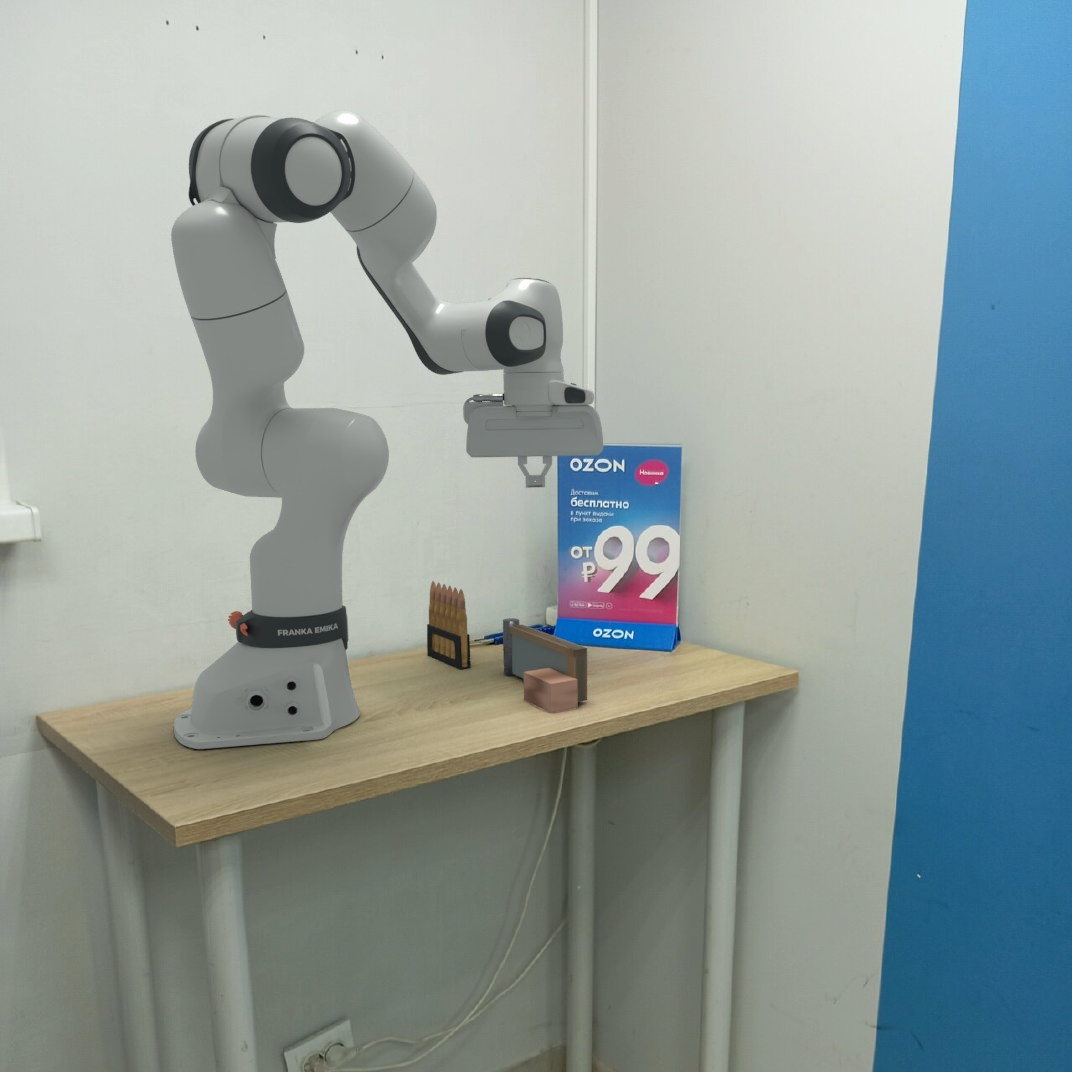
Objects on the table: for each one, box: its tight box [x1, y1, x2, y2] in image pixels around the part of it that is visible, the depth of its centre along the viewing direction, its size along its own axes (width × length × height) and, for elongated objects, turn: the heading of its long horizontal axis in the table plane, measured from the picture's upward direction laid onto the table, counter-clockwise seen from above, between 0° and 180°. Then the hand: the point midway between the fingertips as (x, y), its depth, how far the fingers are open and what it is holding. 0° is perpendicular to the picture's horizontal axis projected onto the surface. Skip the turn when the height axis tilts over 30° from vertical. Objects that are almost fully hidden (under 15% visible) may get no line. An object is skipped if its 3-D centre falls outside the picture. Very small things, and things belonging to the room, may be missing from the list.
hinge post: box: [502, 617, 520, 677], centre depth 149 cm, size 2×2×8 cm
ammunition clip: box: [426, 580, 472, 671], centre depth 156 cm, size 11×2×12 cm, turn 34°
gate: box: [510, 624, 588, 703], centre depth 140 cm, size 17×2×7 cm, turn 31°
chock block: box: [523, 668, 579, 714], centre depth 134 cm, size 7×4×4 cm, turn 31°
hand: (535, 487), depth 152 cm, fingers closed
